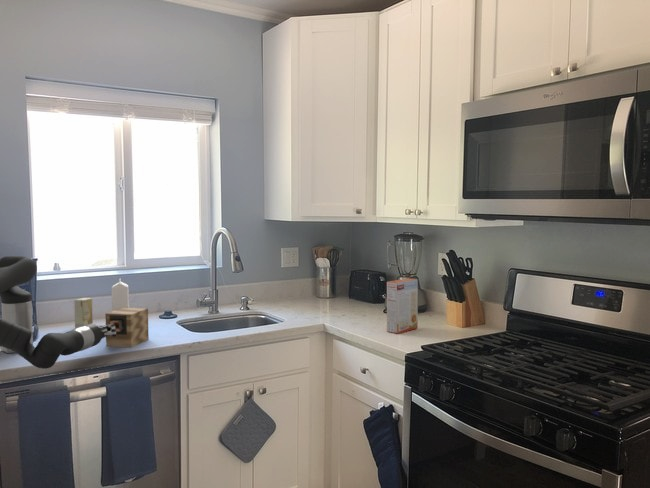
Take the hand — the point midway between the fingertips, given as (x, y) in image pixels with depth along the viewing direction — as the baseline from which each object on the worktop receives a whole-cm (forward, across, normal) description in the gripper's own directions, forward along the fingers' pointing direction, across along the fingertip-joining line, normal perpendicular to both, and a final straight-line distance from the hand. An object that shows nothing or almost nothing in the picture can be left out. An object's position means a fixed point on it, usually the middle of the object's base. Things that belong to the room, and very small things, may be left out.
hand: (114, 326), depth 194 cm
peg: (+6, 0, +2) cm, 6 cm away
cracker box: (+51, -99, +8) cm, 111 cm away
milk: (+22, +11, +8) cm, 26 cm away
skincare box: (+26, +32, +8) cm, 42 cm away
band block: (+8, 0, +8) cm, 11 cm away
